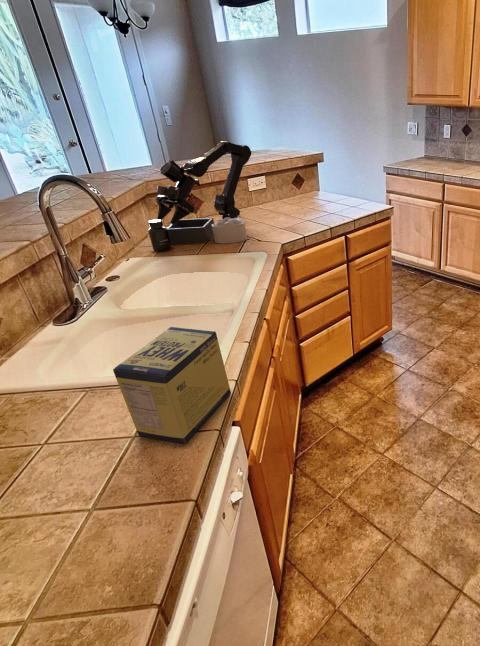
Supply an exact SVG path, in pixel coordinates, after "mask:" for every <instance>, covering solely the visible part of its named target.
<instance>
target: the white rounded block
mask: <svg viewBox="0 0 480 646" xmlns="http://www.w3.org/2000/svg"><path fill="white" fill-rule="evenodd" d="M222 219H223V218H222ZM222 219H218V220H216V222H214V224H212V230H213V234H214V235H213V239H214V242H215V243H217V244H233V243H241V242H244V241H247V240H248V235H247V229H246V225H245V221H244V219H241V218H240V217H238V218H232V219H231V218H229V217H227V218H224V219H223V220H222Z"/></svg>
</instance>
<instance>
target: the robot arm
mask: <svg viewBox="0 0 480 646" xmlns="http://www.w3.org/2000/svg"><path fill="white" fill-rule="evenodd" d="M227 153H228V154H230V158H231V159H230V160H231V163H230V167H229V171H228V173H227V176H226V180H225V183H224V186H223V190H222V192H220V194H219V193H216V195H215V198H214V201H213V208H214V209H215V211H216V212H217V213H218V215H219V216H221V217H222V220H223V219H224V218H227V217H229V218H231V219H232V218H239V216H240V215H241V210H239V209H238V207H236V200H235V194H236V190H237V187H238V184H239V180H240V178H241V174H242V171H243V168H244V166H245V165H246V164H248V163H249V161H250V158H251V157H252V150H251V148H250V146H248V145H246V144H236V143H232V142H231V141H228V140H227V141H225V140H221V141H220V142H219V143H218V144H216V145H215V146H214V147H212V148H210V149H209V150H208V151H207V152H205V153H204V154H203V155H202V156H200V157H197V158H194V159H191V160H188V161H187V162H186V163H184V164H183V165H182V166H181V165H178V163H176V162H175V161H174V160H172V159H169V160H168V161H167V162H165V163H164V164H163V165H162V166H161V167H160V169H159V173H160V174H161V175H163V177H165V178H166V179H168V180H169V181H171V182H172V183H176V185H175V186H173V185H167V186H162V185H157V187H156V194H157V195H156V197H155V199H154V201H155V202H156V204H157V206H158V212H157V219H156V220H162V221H163V219H164V218H166V216H167V215H168V214H170V212H172V211H173V208H174V213H173V215H172V217H171V220H170V225H171V224H174V223H176V222H177V221H179V220H181V219H184V218H185V217H187V216H188V215H191V214H194V212H195V211H196V208H195V206H194V205H193V204H191V203H190V202H189V201H188V198H189V199H191V198H192V194H191V193H192V191H193V189H194V187H201V183H200V180H199V179H198V178H202V177H204V175H205V174H206V173H207V172H208V170H209V167H211V165H213V164H214V163H216V162H217V161H218V160H219V159H221V158H223V156H224V155H226V154H227Z"/></svg>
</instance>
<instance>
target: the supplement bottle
mask: <svg viewBox="0 0 480 646" xmlns="http://www.w3.org/2000/svg"><path fill="white" fill-rule="evenodd" d="M148 226H149V228H148V230H147V232H148V236H149V239H150V243H151V247H152V250H153V252H155V253H165V252H168V251H171V250H172V248H173V246H172V244H171V242H170V238H169V234H168V230H167V227H166V226H164V222H163V219H162V220H157V219H152V220H151V219H150V220H148Z"/></svg>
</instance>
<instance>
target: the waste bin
mask: <svg viewBox="0 0 480 646" xmlns="http://www.w3.org/2000/svg"><path fill="white" fill-rule="evenodd" d="M214 223H215V221H214V217H204V218H182V219H180V220H179V221H177V222H176V223H174V224H171V223H170V225H168V226H167V227H166V228H167V230H168V234H169V238H170V242H171V245H183V244H199V243H200V244H201V243H209V241H210V240H211V239H212V238H213V237H214V234H213V230H212V224H214Z"/></svg>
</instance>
